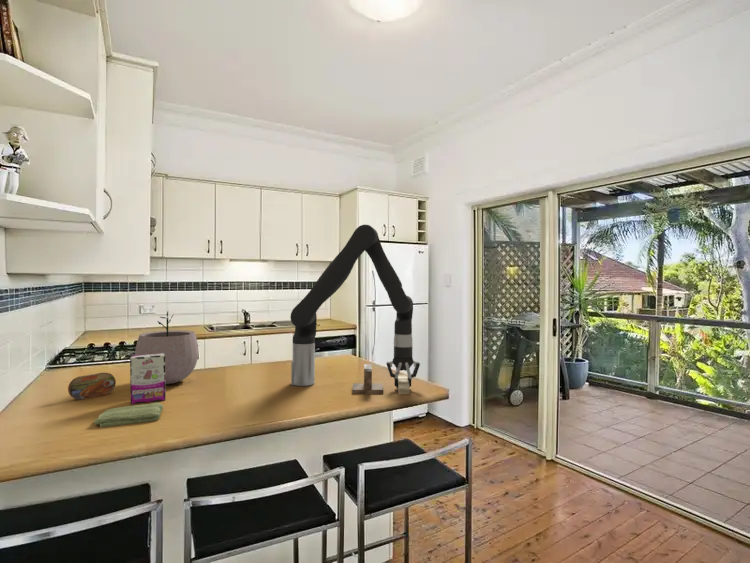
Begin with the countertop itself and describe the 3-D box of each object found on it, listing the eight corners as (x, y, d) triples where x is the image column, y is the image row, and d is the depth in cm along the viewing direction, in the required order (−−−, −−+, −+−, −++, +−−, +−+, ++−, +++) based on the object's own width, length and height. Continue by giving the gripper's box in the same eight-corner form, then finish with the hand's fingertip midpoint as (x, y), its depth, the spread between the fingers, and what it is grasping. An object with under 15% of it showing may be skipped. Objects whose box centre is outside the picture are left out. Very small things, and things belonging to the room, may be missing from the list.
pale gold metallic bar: (409, 394, 165) (409, 384, 165) (398, 394, 165) (399, 384, 165) (406, 384, 181) (406, 374, 181) (396, 384, 181) (396, 374, 181)
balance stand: (352, 393, 166) (352, 369, 166) (353, 386, 176) (353, 363, 176) (383, 393, 166) (383, 369, 166) (382, 387, 176) (382, 363, 176)
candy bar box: (165, 397, 159) (165, 352, 159) (165, 400, 155) (165, 355, 154) (130, 400, 154) (130, 355, 154) (129, 404, 149) (130, 357, 149)
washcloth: (102, 416, 138) (102, 406, 138) (163, 410, 145) (163, 400, 145) (93, 429, 126) (93, 419, 126) (160, 422, 133) (160, 412, 133)
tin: (70, 402, 152) (70, 378, 152) (66, 400, 154) (66, 377, 154) (116, 393, 164) (116, 371, 164) (112, 391, 166) (112, 370, 166)
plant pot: (127, 382, 181) (127, 310, 180) (186, 373, 197) (186, 308, 197) (145, 393, 163) (145, 314, 163) (207, 383, 180) (207, 311, 179)
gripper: (385, 346, 169) (385, 390, 169) (421, 346, 169) (421, 389, 169) (385, 343, 177) (384, 385, 177) (419, 343, 177) (419, 385, 177)
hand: (402, 387), depth 173 cm, fingers closed on pale gold metallic bar, 4 cm apart
